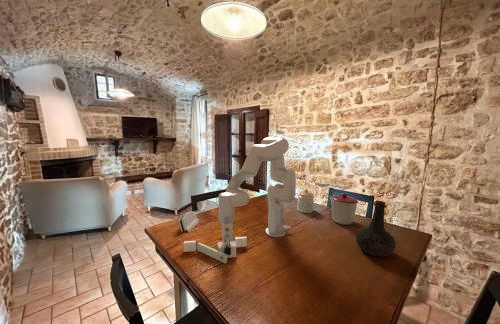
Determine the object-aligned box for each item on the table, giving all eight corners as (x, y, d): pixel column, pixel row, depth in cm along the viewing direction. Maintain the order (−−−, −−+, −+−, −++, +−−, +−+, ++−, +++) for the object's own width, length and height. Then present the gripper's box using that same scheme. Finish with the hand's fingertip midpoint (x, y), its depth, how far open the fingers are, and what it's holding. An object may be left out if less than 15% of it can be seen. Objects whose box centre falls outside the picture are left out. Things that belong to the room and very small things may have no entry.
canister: (361, 223, 142) (364, 194, 139) (347, 230, 132) (350, 199, 128) (338, 214, 156) (340, 188, 153) (323, 220, 146) (325, 191, 143)
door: (194, 250, 106) (194, 242, 106) (197, 249, 108) (197, 240, 107) (224, 265, 95) (224, 255, 95) (226, 263, 97) (226, 253, 96)
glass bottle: (347, 246, 113) (351, 197, 109) (370, 240, 119) (375, 194, 115) (377, 265, 97) (383, 209, 92) (402, 257, 103) (409, 205, 99)
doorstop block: (235, 251, 107) (235, 240, 106) (236, 257, 102) (236, 246, 101) (217, 252, 105) (217, 242, 104) (218, 258, 100) (218, 247, 99)
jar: (294, 207, 170) (295, 187, 168) (309, 207, 172) (310, 186, 169) (300, 213, 157) (301, 191, 155) (316, 213, 159) (317, 191, 156)
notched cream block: (246, 244, 113) (246, 236, 112) (246, 246, 111) (246, 238, 110) (184, 250, 107) (184, 241, 106) (184, 252, 105) (183, 243, 105)
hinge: (188, 232, 126) (182, 217, 125) (181, 234, 127) (176, 219, 126) (199, 221, 142) (194, 207, 141) (193, 222, 143) (188, 209, 142)
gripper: (235, 224, 93) (236, 258, 95) (232, 210, 109) (232, 239, 112) (219, 226, 91) (220, 260, 94) (218, 211, 108) (219, 240, 111)
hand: (227, 249), depth 103 cm, fingers open, 9 cm apart
